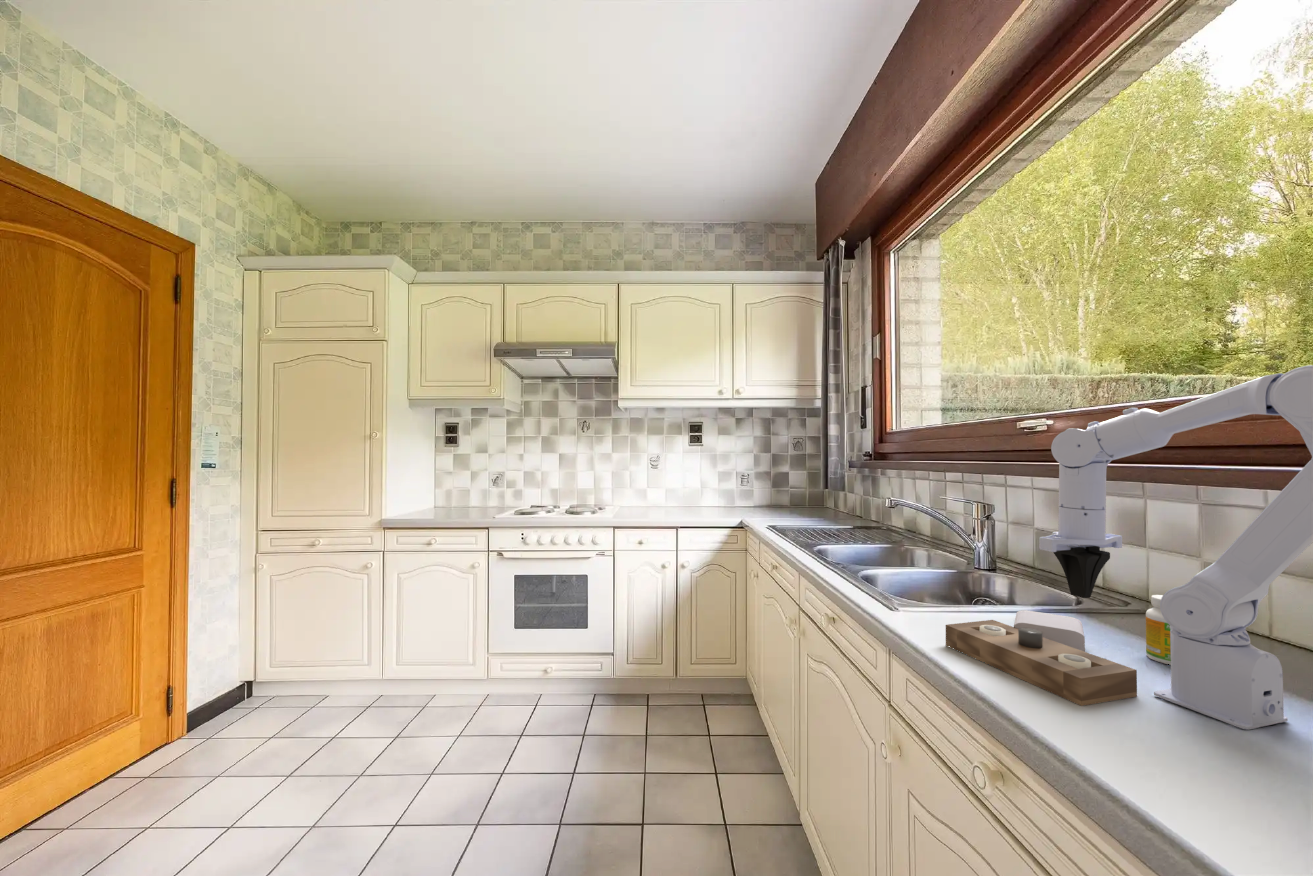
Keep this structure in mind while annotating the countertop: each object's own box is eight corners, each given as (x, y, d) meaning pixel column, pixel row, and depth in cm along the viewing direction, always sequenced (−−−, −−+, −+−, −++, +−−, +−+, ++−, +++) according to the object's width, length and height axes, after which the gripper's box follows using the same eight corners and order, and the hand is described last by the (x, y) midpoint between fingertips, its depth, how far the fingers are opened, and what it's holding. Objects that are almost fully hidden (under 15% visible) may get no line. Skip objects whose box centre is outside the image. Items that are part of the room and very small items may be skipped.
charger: (1080, 636, 96) (1084, 663, 84) (1018, 626, 102) (1013, 650, 89) (1080, 609, 96) (1084, 632, 84) (1017, 600, 102) (1013, 621, 89)
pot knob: (1047, 647, 80) (1047, 633, 80) (1032, 649, 80) (1031, 635, 80) (1028, 640, 83) (1028, 627, 83) (1013, 642, 82) (1013, 629, 82)
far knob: (1011, 650, 86) (1011, 630, 86) (993, 653, 85) (993, 632, 85) (991, 642, 90) (991, 623, 90) (974, 645, 89) (974, 625, 89)
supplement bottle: (1164, 666, 82) (1163, 602, 82) (1137, 653, 88) (1136, 593, 88) (1203, 668, 82) (1202, 603, 82) (1173, 654, 87) (1173, 594, 87)
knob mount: (1137, 696, 72) (1136, 669, 72) (1081, 705, 69) (1081, 678, 69) (992, 640, 93) (992, 619, 93) (945, 645, 90) (945, 624, 91)
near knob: (1097, 685, 74) (1097, 661, 74) (1078, 688, 73) (1078, 664, 73) (1071, 674, 77) (1070, 651, 77) (1052, 677, 76) (1051, 654, 76)
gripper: (1089, 503, 89) (1088, 586, 89) (1021, 505, 85) (1019, 591, 85) (1137, 509, 82) (1136, 598, 82) (1066, 511, 78) (1065, 605, 78)
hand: (1080, 596), depth 83 cm, fingers closed
